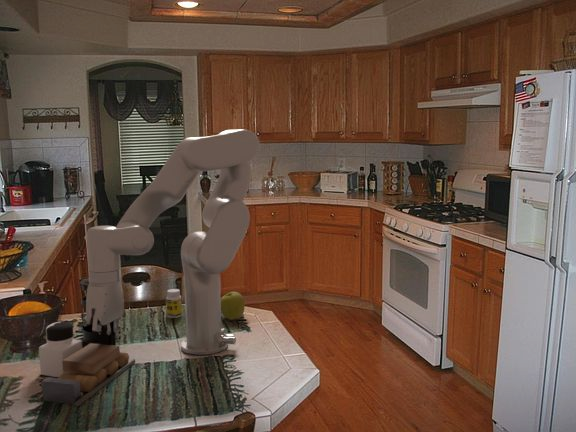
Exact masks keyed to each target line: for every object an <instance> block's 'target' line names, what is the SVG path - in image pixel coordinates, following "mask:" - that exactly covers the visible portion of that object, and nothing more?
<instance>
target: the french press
mask: <svg viewBox="0 0 576 432" xmlns="http://www.w3.org/2000/svg"><path fill="white" fill-rule="evenodd" d="M79 284H80V285H81V290H82V291H83V292H85V291H86V292H87V288H88V285H89V278H84V279H82V280H81V281H80V282H79ZM86 297H87V295H84V296H83V297H82V298H80V304H81V306H80V307H81V320H82V335H83V337H82V343H85V344H87V345H88V344H90V343H93V344H101V341H100V334H99V332H96V331H92V327H93V324H87V325H86V324H85V323H87V322H86V315H85V312H84V310H85V309H84V307H86ZM117 338H118V333H117V330H116V331H115V340H117Z"/></svg>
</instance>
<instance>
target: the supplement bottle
mask: <svg viewBox="0 0 576 432" xmlns="http://www.w3.org/2000/svg"><path fill="white" fill-rule="evenodd" d="M166 292H167V293H166V295H167V296H166V297H165V300H166V301H165V304H166V316H167V318H170V319H175V318H179V317H182V314H183V313H182V312H183V311H182V310H183V309H182V296H181V290H180V289H179V288H171V289H167V290H166Z"/></svg>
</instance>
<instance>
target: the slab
mask: <svg viewBox="0 0 576 432" xmlns="http://www.w3.org/2000/svg"><path fill="white" fill-rule="evenodd" d="M120 349H121V348H120V345H116V346H115V345H104V344H93V343H90V344H88V343H87V345H86V346H84V347H83V346H82V349H80V350H79V351H77V352H75V353H74V354H72V355H70V356H69V357H67V358H65V359H64V360H62V363H63V371H70V372H80V373H89V374H95V373H96V372H97V371H99V370H100V369H102V368H103V367H105V366H106V365H107V364H109V363H110V362H112V361H113V360H114V359H116V358H117V357H119V356H120Z"/></svg>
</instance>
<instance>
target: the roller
mask: <svg viewBox="0 0 576 432" xmlns="http://www.w3.org/2000/svg"><path fill="white" fill-rule="evenodd" d="M58 378H59V379H68V380H77V381H80V392H82V393H89V392H90V391H91V390H93V389H94V388H95V387H97V386H98V384H97V383H98V381H97V378H96V377H95V376H85V375H75V374H64V373H63V374H61V375H60V376H59V377H58Z"/></svg>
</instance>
